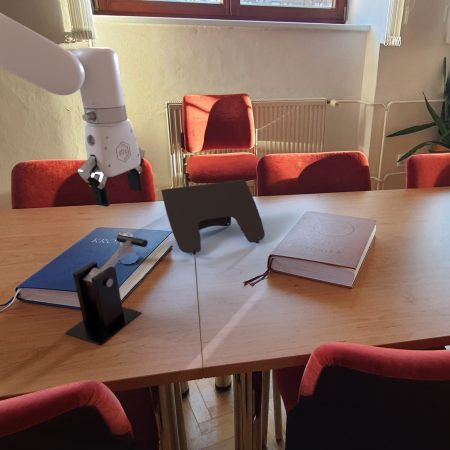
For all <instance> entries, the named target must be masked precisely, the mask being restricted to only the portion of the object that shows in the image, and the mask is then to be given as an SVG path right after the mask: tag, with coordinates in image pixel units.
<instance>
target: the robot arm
mask: <svg viewBox="0 0 450 450" xmlns="http://www.w3.org/2000/svg"><path fill="white" fill-rule="evenodd" d="M0 68H1V69H2V70H4V71H7V72H8V73H10V74H13V75H15V76H17V77H19V78H20V79H23V80H25V81H27V82H29V83H31V84H33V85H36V86H37V87H39V88H41V89H43V90H45V91H47V92H49V93H51V94H53V95H56V96H70V95H73V94H75V93H77V92H78V91H79V92H80V96H81V103H82V107H83V111H84V112H83V114H82V115H81V117H82V120H83V121H85V123H86V124H85V125H84V139H85V140H84V141H85V144H84V145H85V153H86V158H87V159H86V161H85V162H84V163H83V164H82V165H81V166H80V167H79V168H78V170H77V173H78V175H79V176H80V177H81V179H82V180H83V182H84V183H85V184H87V185H88V186H89V187H90V188H92V192H93V196H94V201H95V205H97V206H102V207H106V208H107V207H109V206H110V205H111V201H110V197H109V191H108V187H106V186H105V185H106V182H107V179H108V178H112V177H113V178H114V177H115V176H118V175H121V174H123V173H126V175H127V183H128V189H129V190H130V191H135V192H143V190H144V187H143V182H142V174H141V173H142V172H143V168H142V167H143V165H144V163H145V160H144V158H145V153H146V150H145V149H144V148H141V147H139V144H138V139H137V135H136V132H135V129H134V126H133V124H132V121H131V119H130V118H128V114H127V108H126V107H127V106H126V101H125V95H124V94H125V93H124V89H123V88H124V87H123V81H122V75H121V68H120V62H119V56H118V53H117V51H116V50H114V48H111V47H106V46H87V47H86V46H85V47H80V48H64V47H63V46H61V45H60V44H57V43H56V42H54V41H52V40H50V39H49V38H47V37H45V36H43V35H41V34H40V33H38V32H36V31H35V30H33V29H31V28H29V27H27V26H25V25H24V24H22V23H20V22H18V21H16V20H14V19H13V18H11V17H9V16H7V15H5V14H3V13H2V12H0Z"/></svg>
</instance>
